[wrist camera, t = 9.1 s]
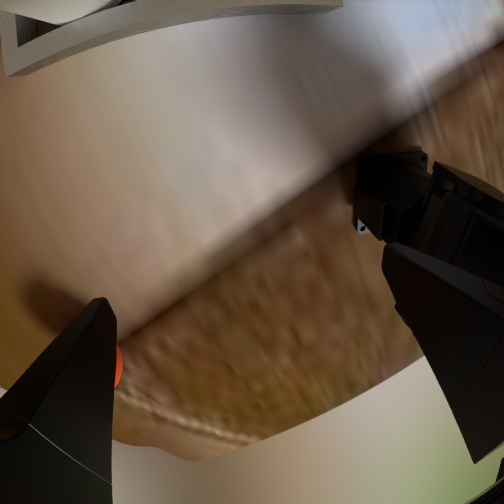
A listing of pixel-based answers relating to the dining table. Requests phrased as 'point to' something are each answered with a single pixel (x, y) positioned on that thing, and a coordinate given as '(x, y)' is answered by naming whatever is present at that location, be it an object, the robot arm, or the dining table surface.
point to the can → (57, 9)
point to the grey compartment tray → (124, 26)
